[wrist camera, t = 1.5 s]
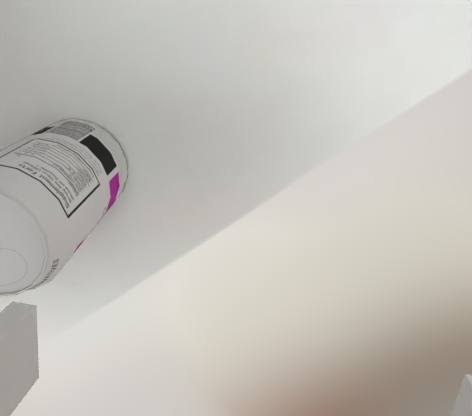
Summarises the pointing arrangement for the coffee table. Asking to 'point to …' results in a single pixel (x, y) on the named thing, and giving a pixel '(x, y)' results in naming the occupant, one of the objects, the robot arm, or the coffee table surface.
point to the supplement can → (54, 198)
